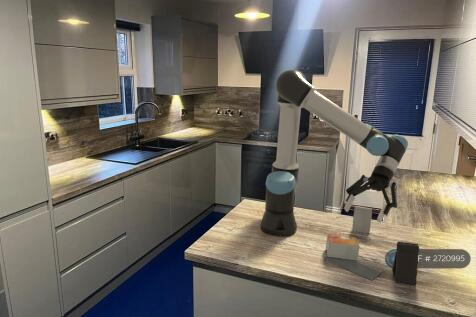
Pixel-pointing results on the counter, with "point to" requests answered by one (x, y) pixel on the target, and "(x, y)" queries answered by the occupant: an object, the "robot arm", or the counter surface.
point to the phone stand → (406, 263)
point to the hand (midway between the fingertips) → (361, 215)
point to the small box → (342, 247)
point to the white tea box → (362, 219)
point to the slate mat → (355, 267)
